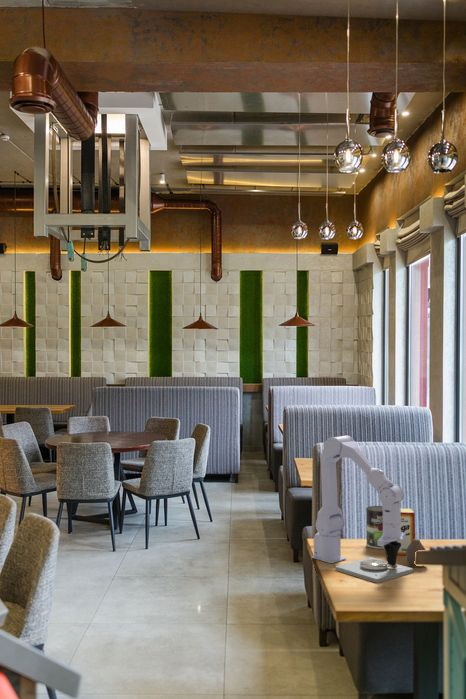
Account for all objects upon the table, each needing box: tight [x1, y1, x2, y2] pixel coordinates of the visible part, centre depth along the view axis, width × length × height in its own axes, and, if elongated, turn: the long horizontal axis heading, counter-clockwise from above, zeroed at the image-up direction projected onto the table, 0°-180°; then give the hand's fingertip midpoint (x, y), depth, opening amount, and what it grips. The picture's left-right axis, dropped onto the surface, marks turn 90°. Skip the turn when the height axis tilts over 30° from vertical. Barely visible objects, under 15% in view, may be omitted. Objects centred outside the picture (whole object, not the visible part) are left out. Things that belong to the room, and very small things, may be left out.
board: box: [335, 556, 414, 584], centre depth 230 cm, size 18×18×1 cm
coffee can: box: [365, 505, 385, 550], centre depth 262 cm, size 10×10×14 cm
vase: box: [405, 538, 426, 568], centre depth 236 cm, size 7×7×9 cm
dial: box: [360, 559, 398, 571], centre depth 230 cm, size 12×9×4 cm
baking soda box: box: [397, 508, 416, 557], centre depth 251 cm, size 10×6×16 cm
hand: (391, 564), depth 227 cm, fingers closed, pressing on dial
